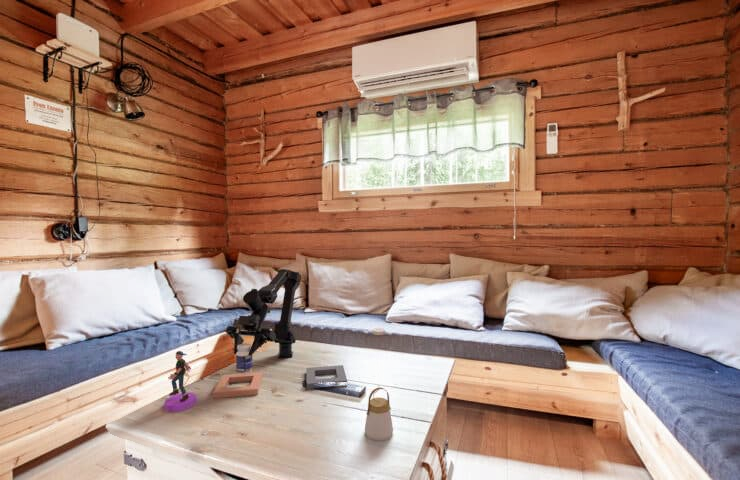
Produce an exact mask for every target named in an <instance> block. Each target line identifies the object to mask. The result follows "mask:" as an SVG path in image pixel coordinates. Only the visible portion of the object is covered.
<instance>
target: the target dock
mask: <svg viewBox="0 0 740 480" xmlns="http://www.w3.org/2000/svg"><path fill="white" fill-rule="evenodd" d="M263 378H264V372H263V371H257V372H250V373H248V374H238V373H229V374H228V373H227V374H222V376H221V378H220V379H219V381H218V383H217V385H216V386H215V389H214V390H213V391H212V399H221V398H230V397H231V398H232V397H245V396H257V395H259V392H260V389H261V385H262V381H263ZM240 382H242V383H243V382H251V383H250V385H246V386H245V385H244V386H232V387H228V386H229V384H230V383H240Z"/></svg>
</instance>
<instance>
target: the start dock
mask: <svg viewBox="0 0 740 480" xmlns="http://www.w3.org/2000/svg"><path fill="white" fill-rule="evenodd" d="M305 369H306V370H305V371H306V378H305V379H306V383H307V384H306V390H315V389H314V384H317V383H319V382H320V383H321V382H322V383H324V382H347V383H348V379H347V376H346V372H345V367H344V365H341V364H339V365H329V366H328V365H327V366H315V367H314V366H313V367H306V368H305ZM322 374H326V375H335V376H336V377H330V378H328V377H327V378H317V379H316V376H321V375H322ZM322 376H323V375H322Z"/></svg>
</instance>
